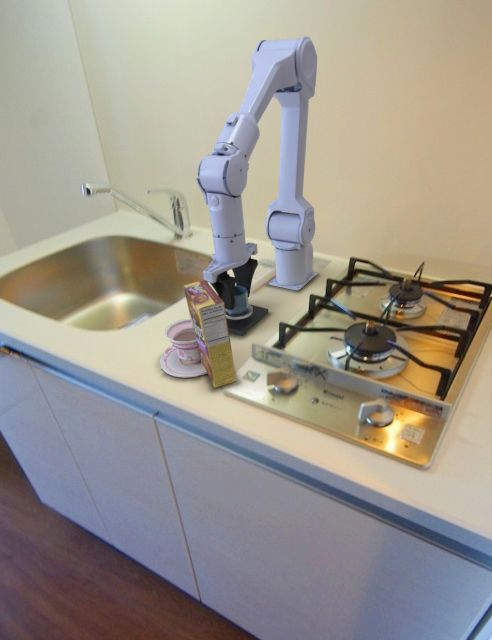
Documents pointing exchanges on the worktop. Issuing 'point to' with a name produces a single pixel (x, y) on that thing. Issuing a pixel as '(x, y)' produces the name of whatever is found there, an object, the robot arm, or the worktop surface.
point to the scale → (246, 321)
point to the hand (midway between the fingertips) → (236, 302)
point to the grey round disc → (240, 316)
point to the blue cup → (239, 300)
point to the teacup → (181, 351)
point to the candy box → (211, 332)
